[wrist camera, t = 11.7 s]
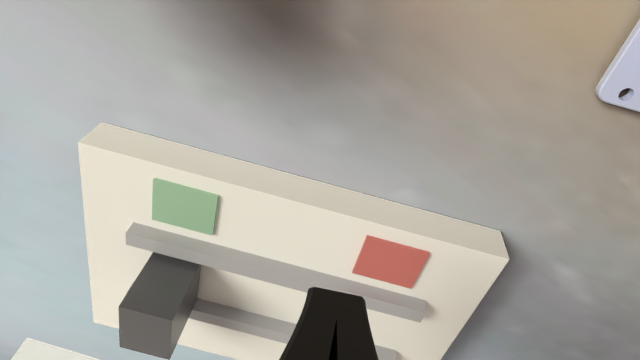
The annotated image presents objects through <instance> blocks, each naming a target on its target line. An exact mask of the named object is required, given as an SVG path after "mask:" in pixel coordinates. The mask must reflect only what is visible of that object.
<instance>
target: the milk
mask: <svg viewBox="0 0 640 360" xmlns="http://www.w3.org/2000/svg"><path fill="white" fill-rule="evenodd" d="M11 360H100V359H97V358H93V357H90V356H87V355H84V354H80V353H77V352H74V351H70V350H67V349H64V348H60V347H57V346H54V345H51V344H47V343H44V342H41V341H37V340H34V339H31V338H26V340H25V341H24V343H23V344H22V345H21V347H20V348H19V349H18V351H17V352H16V354H15V355H14V356H13V358H12V359H11Z"/></svg>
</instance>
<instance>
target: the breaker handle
mask: <svg viewBox="0 0 640 360" xmlns="http://www.w3.org/2000/svg"><path fill="white" fill-rule="evenodd" d="M200 271H201V264H197V263H193V262H189V261H186V260H182V259H178V258H174V257H170V256H167V255H163V254H159V253H155V252H153V253H152V255H151V256H150V258H149V259H148V261H147V262H146V264H145V266H144V267H143V269H142V270H141V272H140V274H139V275H138V277H137V278H136V280H135V281H134V283H133V285H132V286H131V288H130V289H129V291H128V292H127V294H126V296H125V297H124V299H123V300H122V302H121V303H120V305H119V307H118V309H119V337H120V347H122V348H126V349H130V350H134V351H138V352H142V353H145V354H149V355H153V356H157V357H161V358H165V359H169V360H170V358H171V355H172V353H173V351H174V349H175V347H176V344H177V342H178V340H179V338H180V336H181V333H182V331H183V329H184V327H185V325H186V323H187V320H188V318H189V316H190V314H191V312H192V309H193V307H194V305H195V303H196V301H197V296H198V288H199V280H200Z"/></svg>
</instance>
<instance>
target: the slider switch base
mask: <svg viewBox="0 0 640 360" xmlns="http://www.w3.org/2000/svg"><path fill="white" fill-rule="evenodd" d="M78 150H79V162H80V173H81V184H82V196H83V207H84V218H85V230H86V241H87V252H88V263H89V275H90V286H91V297H92V309H93V320H94V322H95V323H99V324H103V325H106V326H110V327H114V328H118V329H119V309H118V307H119V305H120V303H121V302H122V300H123V299H124V297H125V296H126V294H127V292H128V291H129V289H130V288H131V286H132V285H133V283H134V281H135V280H136V278H137V277H138V275H139V274H140V272H141V270H142V269H143V267H144V266H145V264H146V262H147V261H148V259H149V258H150V256H151V255H152V253H153V252H155V253H159V254H163V255H167V256H170V257H174V258H178V259H182V260H186V261H189V262H193V263H197V264H201V271H200V280H199V288H198V296H197V301H196V303H195V305H194V307H193V309H192V312H191V314H190V316H189V318H188V320H187V323H186V325H185V327H184V329H183V331H182V333H181V336H180V338H179V340H178V342H177V344H180V345H184V346H187V347H191V348H195V349H199V350H203V351H207V352H211V353H214V354H218V355H222V356H226V357H230V358H234V359H237V360H279V359H280V357H281V355H282V353H283V351H284V349H285V347H286V345H287V343H288V342H289V340H290V338H291V336H292V334H293V331H294V329H295V327H296V325H297V322H298V320H299V318H300V315H301V313H302V310H303V307H304V304H305V301H306V296H307V292H308V289H309V288H311V287H318V288H323V289H328V290H333V291H338V292H343V293H347V294H352V295H357V296H362V297H363V298H364V300H365V303H366V309H367V315H368V320H369V324H370V329H371V333H372V337H373V341H374V345H375V349H376V352H377V356H378V359H379V360H441V358H442V357H443V355H444V354H445V352H446V351H447V350H448V348H449V347H450V345H451V344H452V342H453V341H454V339H455V338H456V336H457V335H458V334H459V332H460V331H461V329H462V328H463V326H464V325H465V323H466V322H467V320H468V319H469V318H470V316H471V315H472V313H473V312H474V310H475V309H476V307H477V306H478V304H479V303H480V302H481V300H482V299H483V297H484V296H485V294H486V293H487V291H488V290H489V288H490V287H491V285H492V284H493V283H494V281H495V280H496V278H497V277H498V275H499V274H500V272H501V271H502V269H503V268H504V267H505V265H506V264H507V262H508V261H509V256H508V253H507V250H506V247H505V244H504V241H503V238H502V235H501V231H499V230H495V229H492V228H488V227H484V226H481V225H477V224H473V223H470V222H466V221H462V220H459V219H455V218H451V217H448V216H444V215H440V214H437V213H433V212H429V211H426V210H422V209H418V208H415V207H411V206H407V205H404V204H400V203H396V202H393V201H389V200H385V199H382V198H378V197H374V196H371V195H367V194H363V193H360V192H356V191H353V190H349V189H345V188H342V187H338V186H334V185H331V184H327V183H323V182H320V181H316V180H312V179H309V178H305V177H301V176H298V175H294V174H290V173H287V172H283V171H279V170H276V169H272V168H268V167H265V166H261V165H257V164H254V163H250V162H246V161H243V160H239V159H235V158H232V157H228V156H224V155H221V154H217V153H213V152H210V151H206V150H202V149H199V148H195V147H191V146H188V145H184V144H180V143H177V142H173V141H169V140H166V139H162V138H158V137H155V136H151V135H147V134H144V133H140V132H136V131H133V130H129V129H125V128H122V127H118V126H115V125H111V124H107V123H104V122H101V123H100V124H99V125H98V126H96V127H95V128H94V129H93V130H92V131H91V132H89V133H88V134H87V135H86V136H85V137H83V138H82V139H81V140H80V141H79V142H78Z"/></svg>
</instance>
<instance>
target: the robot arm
mask: <svg viewBox="0 0 640 360" xmlns="http://www.w3.org/2000/svg"><path fill="white" fill-rule="evenodd" d="M626 88H629V92H628V93H627V94H626V95H625V96H622V97H618V96H619V93H620V92H621V91H622V90H623V89H626ZM596 94H597V96H598V97H599V98H600V99H601V100H602V101H604V102H606V103H610V104H613V105H617V106H620V107H624V108H627V109H631V110H634V111H638V112H640V19H639V21H638V22H637V24H636V25H635V27H634V28H633V30H632V31H631V33H630V35H629V36H628V38H627V39H626V41H625V42H624V44H623V45H622V47H621V49H620V50H619V52H618V53H617V55H616V56H615V58H614V60H613V61H612V63H611V64H610V66H609V67H608V69H607V70H606V72H605V74H604V75H603V77H602V78H601V80H600V81H599V83H598V85H597V87H596ZM279 360H379V359H378V356H377V352H376V349H375V345H374V341H373V337H372V333H371V329H370V324H369V320H368V315H367V309H366V303H365V300H364V298H363V297H362V296H357V295H352V294H347V293H343V292H338V291H333V290H328V289H323V288H318V287H311V288H309V289H308V292H307V296H306V301H305V304H304V307H303V310H302V313H301V315H300V318H299V320H298V322H297V325H296V327H295V329H294V331H293V334H292V336H291V338H290V340H289V342H288V343H287V345H286V347H285V349H284V351H283V353H282V355H281V357H280V359H279Z"/></svg>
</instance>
